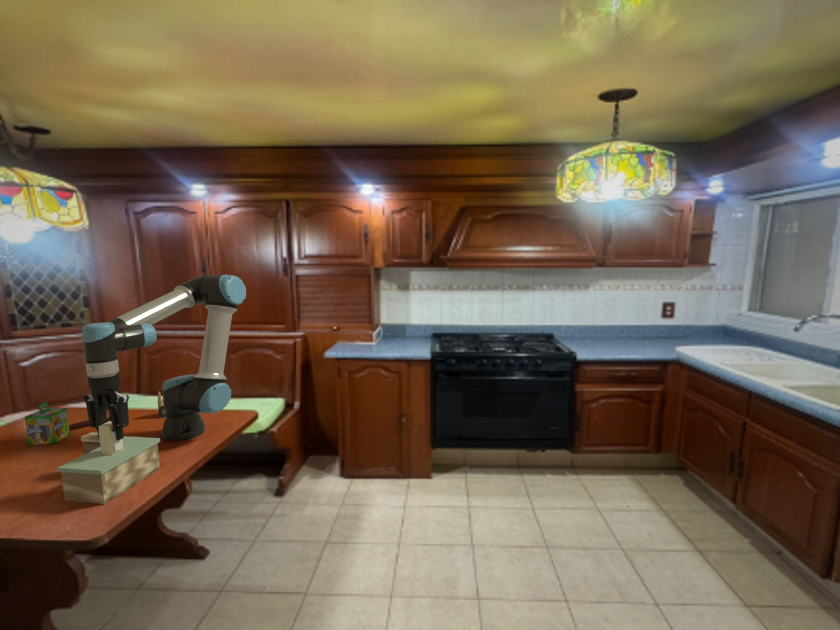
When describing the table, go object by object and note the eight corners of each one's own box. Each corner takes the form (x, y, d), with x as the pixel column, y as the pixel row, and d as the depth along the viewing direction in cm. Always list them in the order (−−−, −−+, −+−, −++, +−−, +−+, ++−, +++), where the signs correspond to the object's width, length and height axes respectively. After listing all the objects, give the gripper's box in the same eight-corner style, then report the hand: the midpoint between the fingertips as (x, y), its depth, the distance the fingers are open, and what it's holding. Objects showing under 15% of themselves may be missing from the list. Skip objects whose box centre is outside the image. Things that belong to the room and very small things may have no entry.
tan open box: (100, 464, 135) (96, 436, 134) (159, 468, 132) (157, 439, 131) (36, 498, 116) (31, 465, 114) (104, 504, 112) (100, 470, 111)
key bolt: (91, 437, 133) (89, 420, 132) (112, 438, 132) (110, 421, 131) (81, 441, 129) (79, 425, 129) (103, 442, 128) (101, 426, 128)
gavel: (59, 428, 159) (59, 421, 166) (61, 439, 160) (61, 431, 167) (123, 411, 173) (120, 406, 180) (125, 421, 174) (122, 415, 181)
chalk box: (54, 444, 151) (50, 407, 150) (27, 446, 150) (22, 408, 148) (71, 434, 160) (67, 399, 159) (45, 436, 159) (41, 400, 157)
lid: (122, 442, 134) (119, 410, 132) (160, 444, 132) (157, 412, 130) (58, 475, 113) (53, 437, 111) (101, 478, 111) (97, 439, 110)
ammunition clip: (185, 411, 185) (183, 386, 184) (186, 412, 184) (184, 387, 182) (158, 417, 178) (156, 391, 176) (159, 418, 177) (156, 392, 175)
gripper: (66, 377, 116) (76, 453, 119) (117, 379, 114) (125, 456, 117) (91, 370, 124) (99, 442, 127) (139, 372, 121) (146, 445, 124)
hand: (112, 449), depth 122 cm, fingers closed on lid, 4 cm apart
